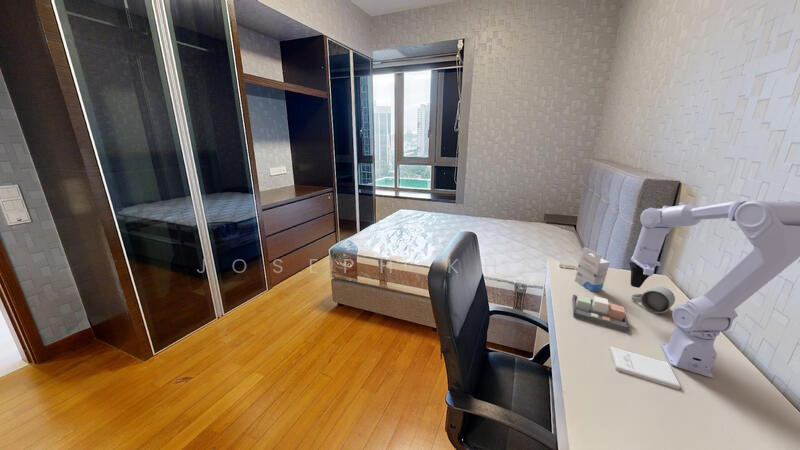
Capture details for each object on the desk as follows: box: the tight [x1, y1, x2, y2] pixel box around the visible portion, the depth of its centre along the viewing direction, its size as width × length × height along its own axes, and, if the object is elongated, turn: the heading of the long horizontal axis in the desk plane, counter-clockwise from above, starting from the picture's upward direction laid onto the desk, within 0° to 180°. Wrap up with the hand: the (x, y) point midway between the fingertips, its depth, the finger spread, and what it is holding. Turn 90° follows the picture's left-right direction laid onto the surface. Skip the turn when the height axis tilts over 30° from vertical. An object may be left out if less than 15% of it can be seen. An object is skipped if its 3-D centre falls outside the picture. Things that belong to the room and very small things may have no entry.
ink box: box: [574, 246, 611, 292], centre depth 109 cm, size 8×5×15 cm, turn 13°
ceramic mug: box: [631, 286, 676, 314], centre depth 99 cm, size 11×8×8 cm
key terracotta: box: [607, 303, 626, 321], centre depth 92 cm, size 4×4×3 cm
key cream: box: [592, 295, 610, 313], centre depth 93 cm, size 4×4×3 cm
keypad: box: [571, 294, 630, 333], centre depth 94 cm, size 12×14×2 cm
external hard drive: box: [609, 346, 681, 390], centre depth 73 cm, size 2×8×12 cm
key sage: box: [575, 295, 591, 312], centre depth 96 cm, size 4×4×3 cm
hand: (634, 286), depth 92 cm, fingers closed
